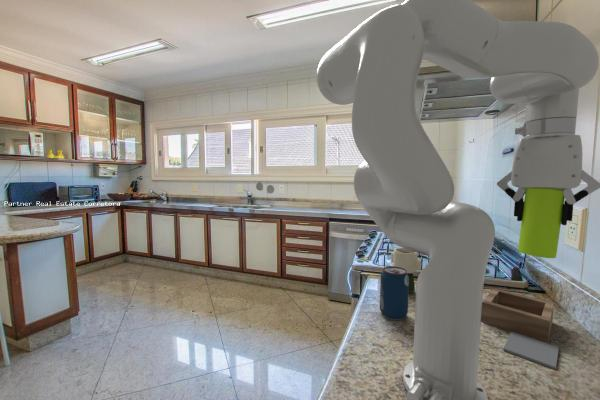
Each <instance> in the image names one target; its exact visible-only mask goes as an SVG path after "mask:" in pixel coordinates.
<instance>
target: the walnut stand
mask: <svg viewBox="0 0 600 400" xmlns="http://www.w3.org/2000/svg"><path fill="white" fill-rule="evenodd" d="M554 309H555V303H554V302H551V301H547V300H543V299H540V298H535V297H532V296H527V295H523V294H519V293H515V292H510V291H507V290H502V289H498V288H492V289H491V291H490V292H489V293H488V294H487V295H486V297H485V298H484V299H482V313H481V323H485V324H488V325H491V326H493V327H496V328H500V329H503V330H507V331H509V332H514V333H518V334H521V335H524V336H527V337H530V338H533V339H536V340H539V341H542V342H545V343H548V344H549V340H550V336H551V331H552V327H553V323H554V322H553V320H554Z"/></svg>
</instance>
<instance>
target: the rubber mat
mask: <svg viewBox="0 0 600 400" xmlns="http://www.w3.org/2000/svg"><path fill="white" fill-rule="evenodd" d="M559 349H560V347H559V346H558V345H554V344H551V343H549V342H548V343H546V342H543V341H540V340H537V339H534V338H531V337H528V336H525V335H521V334H518V333H515V332H512V331H510V333H509V336H508V337H507V340H506V342H505V344H504V345H503V349H502V350H503V351H504V352H507V353H509V354H511V355H515V356H518V357H521V358H523V359H525V360H529V361H531V362H533V363H536V364H538V365H541V366H545V367H547V368H549V369H553V370H556V369H557V362H558V358H559Z"/></svg>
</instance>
